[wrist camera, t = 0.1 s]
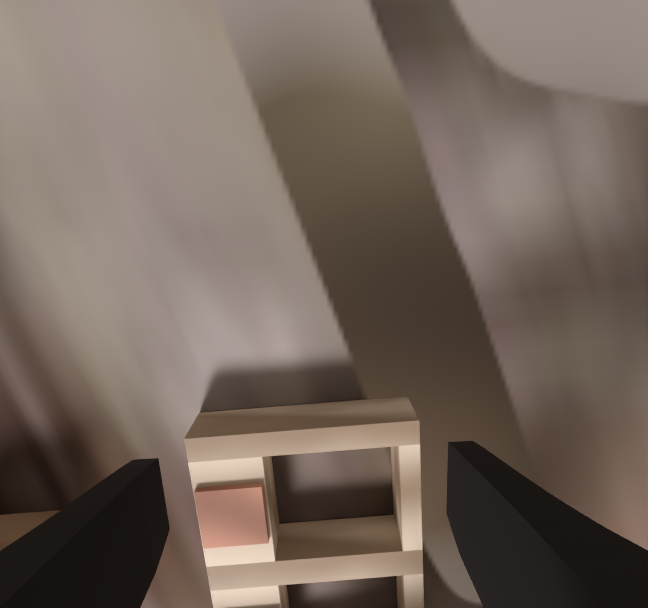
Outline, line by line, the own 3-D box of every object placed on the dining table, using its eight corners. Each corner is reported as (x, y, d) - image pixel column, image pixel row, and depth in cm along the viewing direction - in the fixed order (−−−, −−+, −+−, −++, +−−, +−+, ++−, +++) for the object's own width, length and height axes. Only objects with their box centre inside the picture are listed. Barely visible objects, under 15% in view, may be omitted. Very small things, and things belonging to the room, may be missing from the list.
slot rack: (414, 633, 25) (427, 686, 22) (237, 648, 25) (227, 702, 22) (407, 396, 21) (421, 423, 18) (199, 412, 21) (182, 442, 18)
